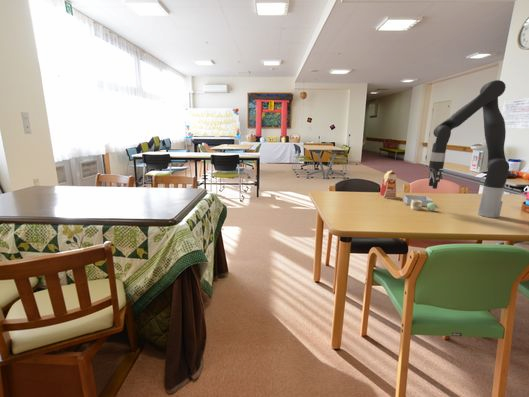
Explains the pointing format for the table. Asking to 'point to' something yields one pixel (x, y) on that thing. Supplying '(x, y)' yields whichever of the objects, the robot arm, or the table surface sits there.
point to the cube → (416, 204)
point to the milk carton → (389, 185)
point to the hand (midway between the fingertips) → (432, 187)
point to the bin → (423, 199)
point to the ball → (431, 206)
